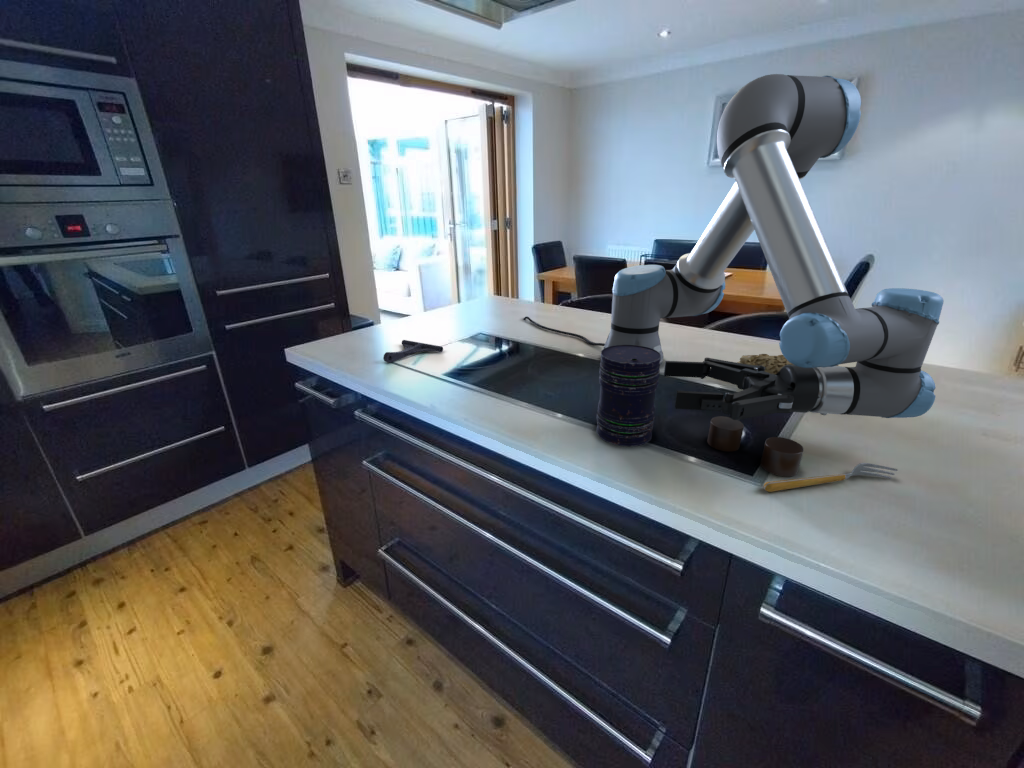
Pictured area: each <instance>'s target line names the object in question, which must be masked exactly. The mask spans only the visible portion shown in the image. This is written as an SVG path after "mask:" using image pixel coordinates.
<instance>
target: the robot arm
mask: <svg viewBox="0 0 1024 768" xmlns="http://www.w3.org/2000/svg"><path fill="white" fill-rule="evenodd" d="M861 106H862V97H861V94H860V92H859V89H858V88H857V86H856V85H855V84H854V83H853V82H851V81H849V80H848V79H844V78H839V77H834V76H832V75H823V76H817V75H816V76H815V75H795V74H783V73H772V74H765V75H763V76H759V77H756V78H755V79H753V80H751V81H748V83H746V84H745V85H744V86H742V87H740V89H738V91H737V92H736V93H735V94H734V95H733V96H732V97H731V99H729V101H728V102H727V105H726V106H725V107H724V110H723V112H722V114H721V116H720V118H719V122H718V126H717V131H716V149H717V154H718V158H719V162H720V165H721V167H722V170H723V172H724V175H725V176H726V177H727V178H730V179H734V180H735V181H734V183H733V184H732V186H731V188H730V189H729V191H728V193H727V194H726V196H725V197H724V199H723V201H722V202H721V204H720V205H719V207H718V209H717V210H716V212H715V213H714V215H713V216H712V218H711V220H710V221H709V223H708V225H707V226H706V227H705V229H704V230H703V232H702V234H701V236H700V237H699V239H698V240H697V241H696V244H695V245H694V247H693V248H692V249H691V251H690V252H688V253H685V254H683V255H681V256H680V257H679V259H678V260H677V262H676V264H675V265H674V267H673V268H672V269H666V268H665V267H664V266H663V265H660V264H641V265H634V266H633V265H632V266H629V267H625V268H622V269H620V270H619V271H618V272H617V273H616V274H615V276H614V281H613V284H612V285H613V286H612V289H611V291H612V301H611V318H610V330H609V333H608V336H607V338H606V340H605V343H604V342H593V341H591V340H590V339H588V338H586V337H585V336H584V335H581V334H577V333H575V332H574V333H573V332H569V331H564V330H561V329H556V328H551V327H548V326H544V325H542V324H540V323H537V322H536V321H534V320H533V319H531V317H529V316H527V315H526V316H524V317H523V318H522V320H524V321H526V320H528V321H529V322H530V323H532V324H533V325H535V326H536V327H538V328H541V329H543V330H545V331H550V332H555V333H559V334H562V335H567V336H572V337H576V338H579V339H581V340H583V341H585V342H586V343H587V344H588V345H592V346H596V347H597V346H598V347H603V348H602V350H603V349H604V348H607V347H610V346H615V345H637V346H644V347H648V348H651V349H654V350H656V351H658V352H659V353H660V354H661V360H660V362H659V363H660V366H662V365H663V363H664V368H663V377H672V378H673V377H675V378H699V379H701V380H704V379H706V378H711V379H714V380H718V381H720V382H724V383H728V384H732V385H735V386H736V387H737V389H739V390H740V391H737V392H734V393H731V392H728V391H725V394H724V393H723V392H713V391H712V392H711V391H690V390H676V397H675V404H674V408H675V409H676V410H691V411H692V410H693V411H709V412H710V411H712V412H722V413H723V414H725V415H730V416H729V417H730V418H731V419H733V420H739V421H740V420H745V419H751V418H756V417H762V416H768V415H773V414H790V413H803V414H806V413H809V412H810V413H813V414H820V415H821V416H827V415H828V414H829V415H849V416H863V417H876V418H877V417H878V418H881V419H883V418H884V419H893V418H894V419H896V418H897V419H901V418H902V419H904V418H905V419H907V418H917V417H920V416H923V415H925V414H926V413H927V412H928V411H929V410H931V408H932V407H933V405H934V403H935V400H936V398H937V397H936V394H935V390H936V387H937V386H936V383H935V381H934V378H933V377H932V376H931V375H930V373H928V372H927V371H924V370H922V366H923V364H924V361H925V359H926V356H927V354H928V351H929V348H930V345H931V343H932V340H933V338H934V335H935V333H936V330H937V327H938V325H939V324H940V317H941V313H942V309H943V306H944V298H943V297H942V296H941V294H938V293H937V292H933V291H930V290H923V289H916V288H903V287H902V288H900V287H892V288H884V289H882V290H880V291H879V292H877V294H876V296H875V298H874V301H872V303H871V306H870V307H860V308H859V307H858V308H855V306H854V303H853V301H852V299H851V297H850V295H849V293H848V290H847V287H846V285H845V283H844V280H843V279H842V276H841V274H840V271H839V269H838V267H837V264H836V262H835V260H834V257H833V255H832V252H831V250H830V248H829V246H828V243H827V241H826V239H825V236H824V234H823V231H822V228H821V226H820V225H819V222H818V220H817V217H816V215H815V212H814V211H813V208H812V206H811V203H810V200H809V199H808V196H807V194H806V191H805V189H804V187H803V184H802V182H801V180H802V179H804V178H805V177H806V176H807V174H809V172H810V171H811V170H812V168H813V167H814V165H815V164H816V163H817V161H818V160H819V159H826V158H829V157H831V156H833V155H836V154H837V153H838V152H840V151H842V150H843V149H844V148H845V147H846V146H847V145H848V143H850V141H851V140H852V138H854V135H855V133H856V132H857V129H858V127H859V124H860V120H861V117H862V116H861V115H862V111H861ZM754 232H755V234H756V236H757V239H758V241H759V245H760V248H761V250H762V252H763V255H764V258H765V260H766V263H767V266H768V268H769V270H770V272H771V275H772V278H773V281H774V284H775V286H776V288H777V292H778V293H779V296H780V299H781V302H782V304H783V307H784V310H785V311H786V315H787V317H788V320H787V321H786V322H785V323H784V324H783V325H782V327H781V329H780V332H779V337H780V339H779V340H780V341H779V343H778V345H779V349H780V352H781V355H783V356H784V357H785V358H786V359H787V360H788V361H789V362H790V363H792V364H793V365H785V366H783V367H782V368H781V369H780V371H779V372H778V373H777V374H770V373H768V372H765V367H764V366H757V365H747V364H741V363H737V362H735V361H729V360H723V359H718V358H713V357H704V359H703V361H685V360H684V361H683V360H682V361H681V360H680V361H679V360H664V351H663V349H662V344H661V339H660V334H659V332H660V331H659V330H660V322H661V319H670V318H683V317H698V316H701V315H704V314H705V315H706V314H708V313H710V312H712V311H714V310H715V309H716V308H717V307H718V306H719V305H720V304H721V302H722V300H723V298H724V297H725V293H724V291H725V290H726V281H725V280H726V274H725V270H727V268H728V266H729V265H730V264H731V262H732V261H733V260H734V258H735V257H736V256H737V255H738V253H739V252H740V250H741V249H742V248H743V246H744V245H745V243H746V242H747V241H748V240H749V238H750V237H751V235H752V234H753V233H754ZM851 363H852V364H853V363H855V366H840V365H846V364H851ZM837 365H838V366H837Z"/></svg>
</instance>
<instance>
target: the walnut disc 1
mask: <svg viewBox="0 0 1024 768" xmlns="http://www.w3.org/2000/svg"><path fill="white" fill-rule="evenodd" d="M744 428H745V425H744V423H743V422H742V421H740V420H733V419H731V418H730V416H725V415H724V416H723V415H722V416H721V415H720V416H719V415H718V416H714V417H712V418H711V419H710V423H709V427H708V435H707V440H706V442H707V444H708V445H709V446H710V447H711V448H713V449H715V450H718V451H720V452H726V453H727V452H729V453H730V452H736V451H738V450H739V449H740V447H741V442H742V438H743V432H744Z"/></svg>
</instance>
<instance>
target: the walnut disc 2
mask: <svg viewBox="0 0 1024 768" xmlns="http://www.w3.org/2000/svg"><path fill="white" fill-rule="evenodd" d="M804 451H805V449H804V447H803V446H802V444H800V443H799V442H797V441H795V440H793V439H790V438H786V437H782V436H772V437H768V438H766V440H765V442H764V445H763V450H762V455H761V459H760V467H761V468H762V469H763V470H765V471H766V472H768V473H770V474H772V475H775V476H779V477H783V478H784V477H785V478H787V477H788V478H791V477H794V476H797V474H798V473H799V469H800V466H801V462H802V458H803V455H804Z"/></svg>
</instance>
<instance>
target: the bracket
mask: <svg viewBox="0 0 1024 768" xmlns="http://www.w3.org/2000/svg"><path fill="white" fill-rule="evenodd" d="M401 345H402V346H403V347H404V349H402V350H399V351H387V352H386V351H385V353H384V354H383V361H384V362H385V363H388V364H389V363H390V364H391V363H394V362H396V361H398V360H401V359H403V358H405V357H408V356H411V355H413V354H416V353H422V352H423V353H424V352H437V353H442V352H443V351H444V347H443V346H441V345H436V344H430V343H424V342H420V341H419V342H418V341H413V340H407V339H402V340H401Z"/></svg>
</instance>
